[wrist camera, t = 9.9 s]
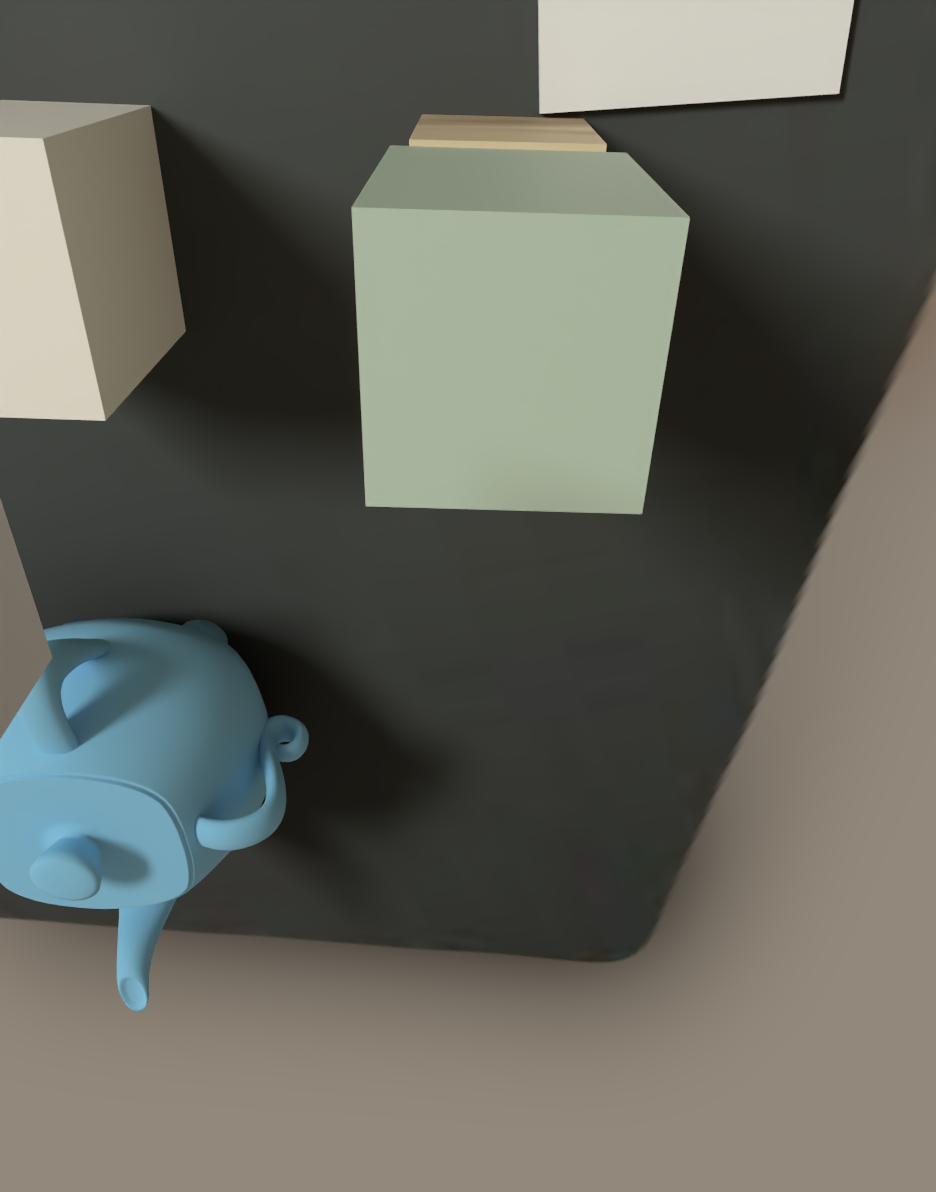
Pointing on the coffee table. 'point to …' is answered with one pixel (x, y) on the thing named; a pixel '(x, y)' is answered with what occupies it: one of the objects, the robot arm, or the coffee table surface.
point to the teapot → (137, 774)
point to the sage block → (512, 327)
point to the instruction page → (687, 51)
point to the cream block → (81, 258)
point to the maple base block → (506, 133)
